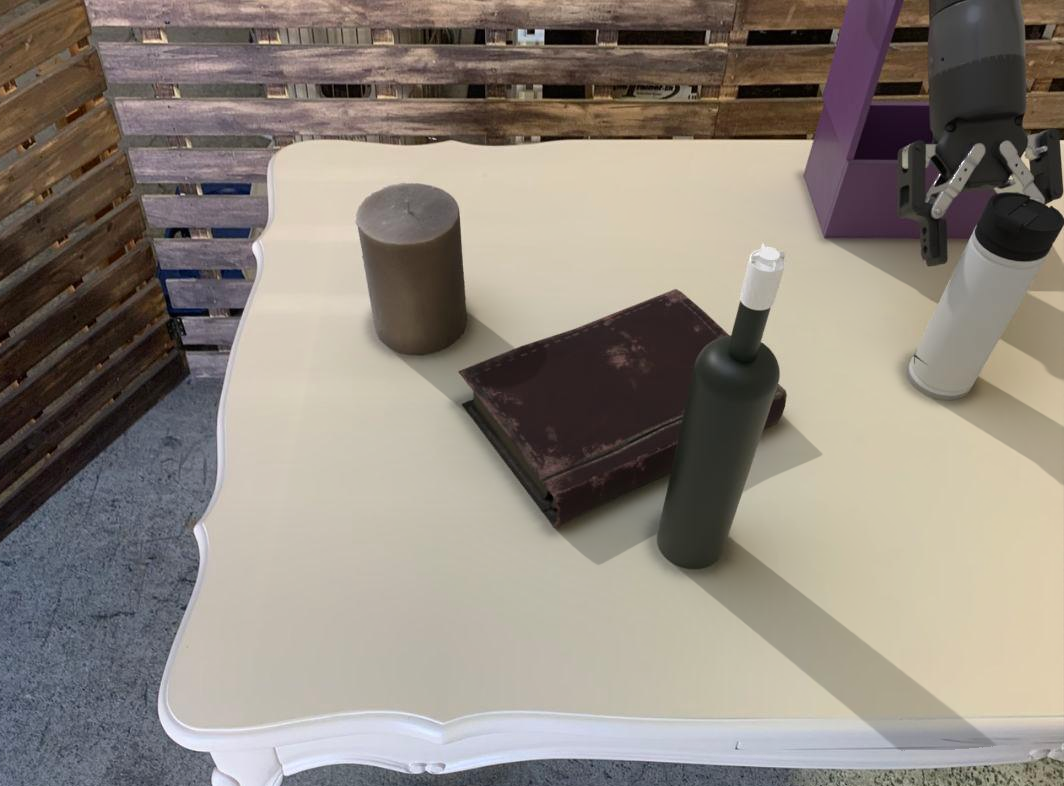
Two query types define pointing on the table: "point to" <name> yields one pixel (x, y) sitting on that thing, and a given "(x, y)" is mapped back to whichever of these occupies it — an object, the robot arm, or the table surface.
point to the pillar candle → (413, 267)
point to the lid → (858, 66)
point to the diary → (595, 403)
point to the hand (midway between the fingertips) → (981, 260)
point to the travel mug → (983, 293)
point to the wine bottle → (722, 424)
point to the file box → (878, 178)
